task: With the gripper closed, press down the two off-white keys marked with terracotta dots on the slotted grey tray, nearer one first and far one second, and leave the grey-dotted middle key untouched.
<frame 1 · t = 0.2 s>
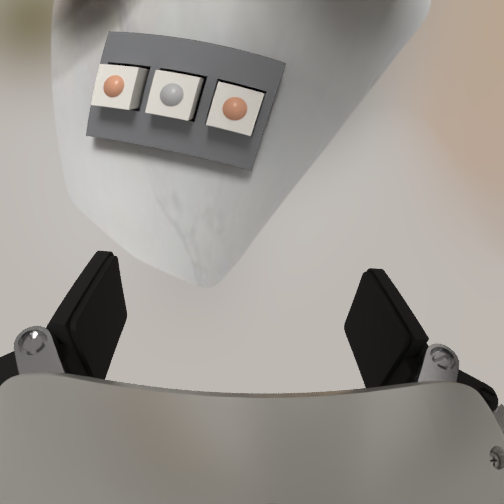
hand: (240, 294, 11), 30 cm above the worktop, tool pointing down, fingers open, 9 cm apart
dot key a: (235, 107, 31), point 4 cm above the worktop, slide at 0.0 cm
dot key b: (120, 86, 28), point 4 cm above the worktop, slide at 0.0 cm
slotted grey tray: (181, 94, 33), on the worktop
plain key: (175, 94, 29), point 4 cm above the worktop, slide at 0.0 cm
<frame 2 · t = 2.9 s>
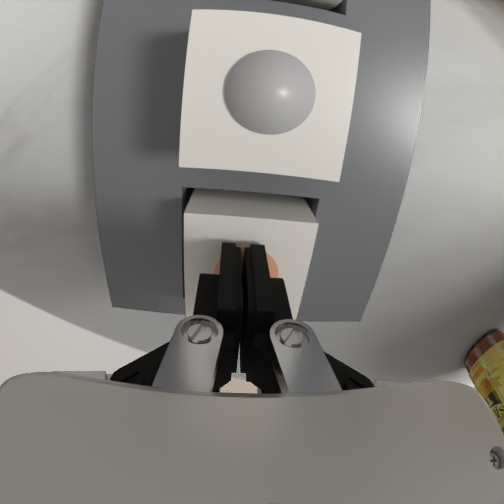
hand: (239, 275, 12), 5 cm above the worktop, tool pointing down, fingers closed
dot key a: (245, 251, 14), point 3 cm above the worktop, slide at 1.2 cm, touching gripper
slotted grey tray: (258, 94, 13), on the worktop
plain key: (265, 92, 9), point 4 cm above the worktop, slide at 0.0 cm
sauce bottle: (482, 347, 25), on the worktop
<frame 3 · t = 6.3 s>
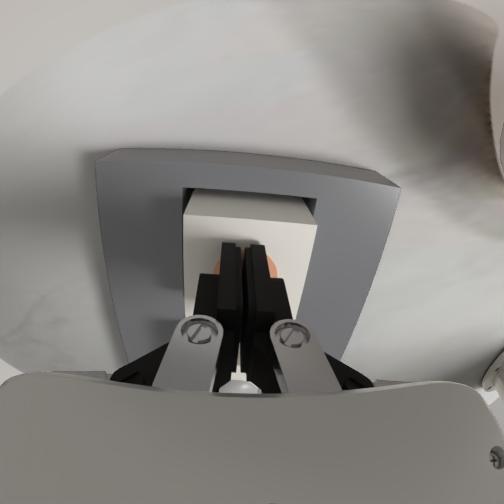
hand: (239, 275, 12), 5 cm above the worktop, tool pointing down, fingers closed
dot key b: (244, 252, 14), point 3 cm above the worktop, slide at 1.0 cm, touching gripper
slotted grey tray: (234, 320, 20), on the worktop
plain key: (234, 366, 16), point 4 cm above the worktop, slide at 0.0 cm
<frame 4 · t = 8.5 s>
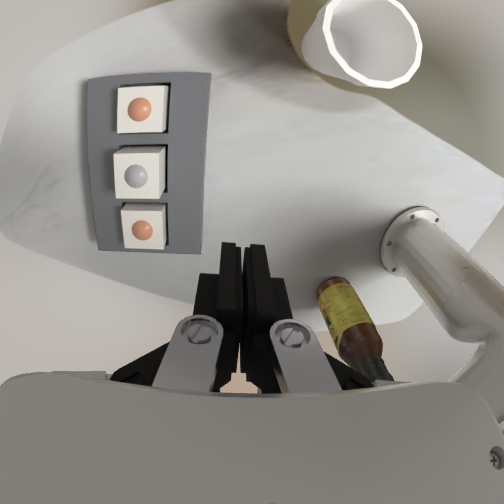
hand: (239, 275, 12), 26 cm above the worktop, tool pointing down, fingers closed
dot key a: (145, 223, 35), point 3 cm above the worktop, slide at 1.3 cm
dot key b: (144, 108, 28), point 3 cm above the worktop, slide at 1.3 cm
slotted grey tray: (148, 162, 34), on the worktop
plain key: (140, 171, 30), point 4 cm above the worktop, slide at 0.0 cm
foam cup: (325, 50, 29), on the worktop
sauce bottle: (333, 290, 47), on the worktop
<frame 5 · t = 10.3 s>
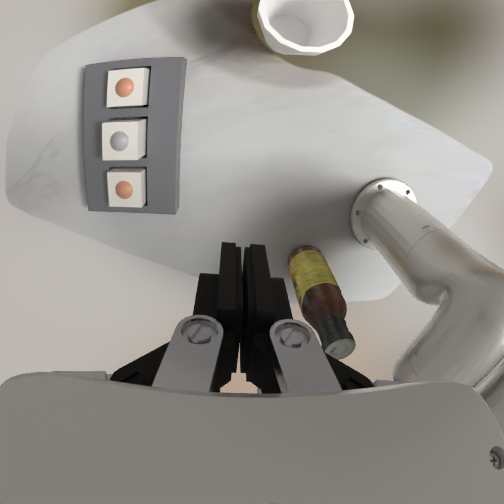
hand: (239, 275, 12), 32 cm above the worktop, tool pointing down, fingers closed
dot key a: (128, 185, 39), point 3 cm above the worktop, slide at 1.3 cm
dot key b: (129, 87, 32), point 3 cm above the worktop, slide at 1.3 cm
slotted grey tray: (134, 134, 38), on the worktop
plain key: (124, 138, 34), point 4 cm above the worktop, slide at 0.0 cm
foam cup: (286, 35, 32), on the worktop
sauce bottle: (305, 260, 50), on the worktop
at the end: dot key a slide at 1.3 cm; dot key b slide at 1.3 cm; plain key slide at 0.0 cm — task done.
